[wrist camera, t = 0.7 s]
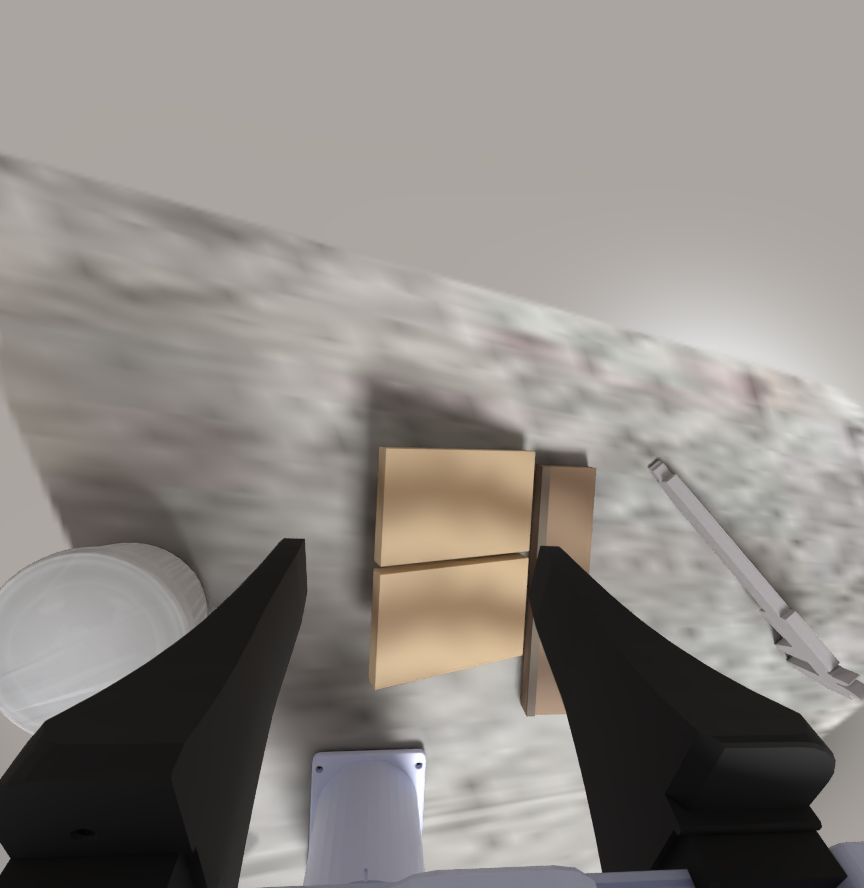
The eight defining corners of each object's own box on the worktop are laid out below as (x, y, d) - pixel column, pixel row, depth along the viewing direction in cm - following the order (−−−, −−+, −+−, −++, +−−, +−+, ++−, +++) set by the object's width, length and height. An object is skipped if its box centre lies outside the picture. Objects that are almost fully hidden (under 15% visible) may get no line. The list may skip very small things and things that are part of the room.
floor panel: (571, 703, 33) (580, 714, 32) (520, 704, 33) (526, 716, 31) (588, 466, 32) (597, 468, 31) (536, 464, 32) (542, 466, 31)
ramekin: (144, 723, 30) (93, 788, 25) (7, 619, 29) (-77, 664, 23) (259, 602, 30) (233, 640, 25) (130, 494, 29) (74, 510, 24)
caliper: (796, 655, 35) (884, 705, 29) (786, 664, 35) (872, 716, 29) (655, 459, 33) (718, 468, 27) (644, 468, 33) (705, 479, 27)
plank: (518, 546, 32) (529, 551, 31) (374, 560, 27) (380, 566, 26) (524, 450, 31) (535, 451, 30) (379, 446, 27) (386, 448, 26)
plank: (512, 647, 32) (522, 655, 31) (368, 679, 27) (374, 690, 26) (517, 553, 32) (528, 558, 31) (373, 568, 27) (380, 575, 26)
